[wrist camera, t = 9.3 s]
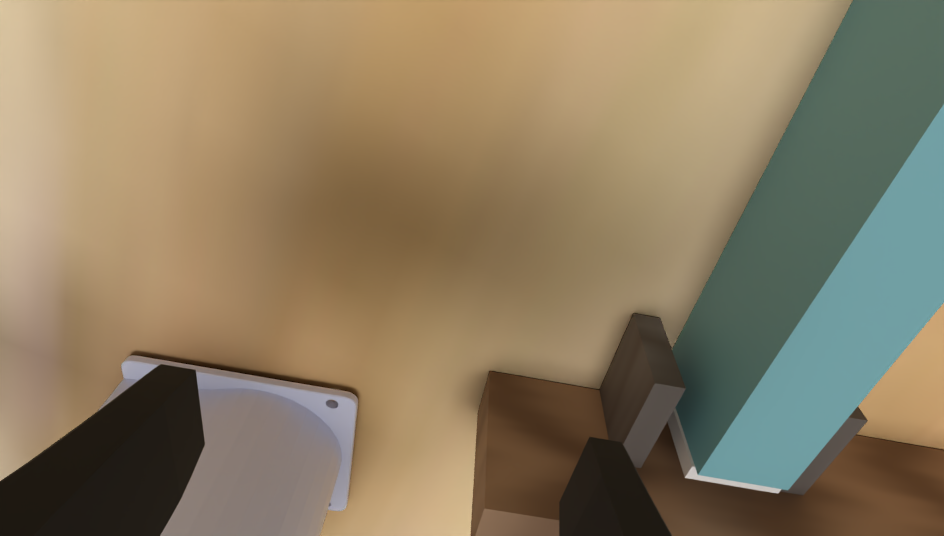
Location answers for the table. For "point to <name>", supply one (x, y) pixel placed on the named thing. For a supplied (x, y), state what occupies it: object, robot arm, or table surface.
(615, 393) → the brown wooden bar
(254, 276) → the table surface
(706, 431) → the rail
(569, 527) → the robot arm
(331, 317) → the table surface
